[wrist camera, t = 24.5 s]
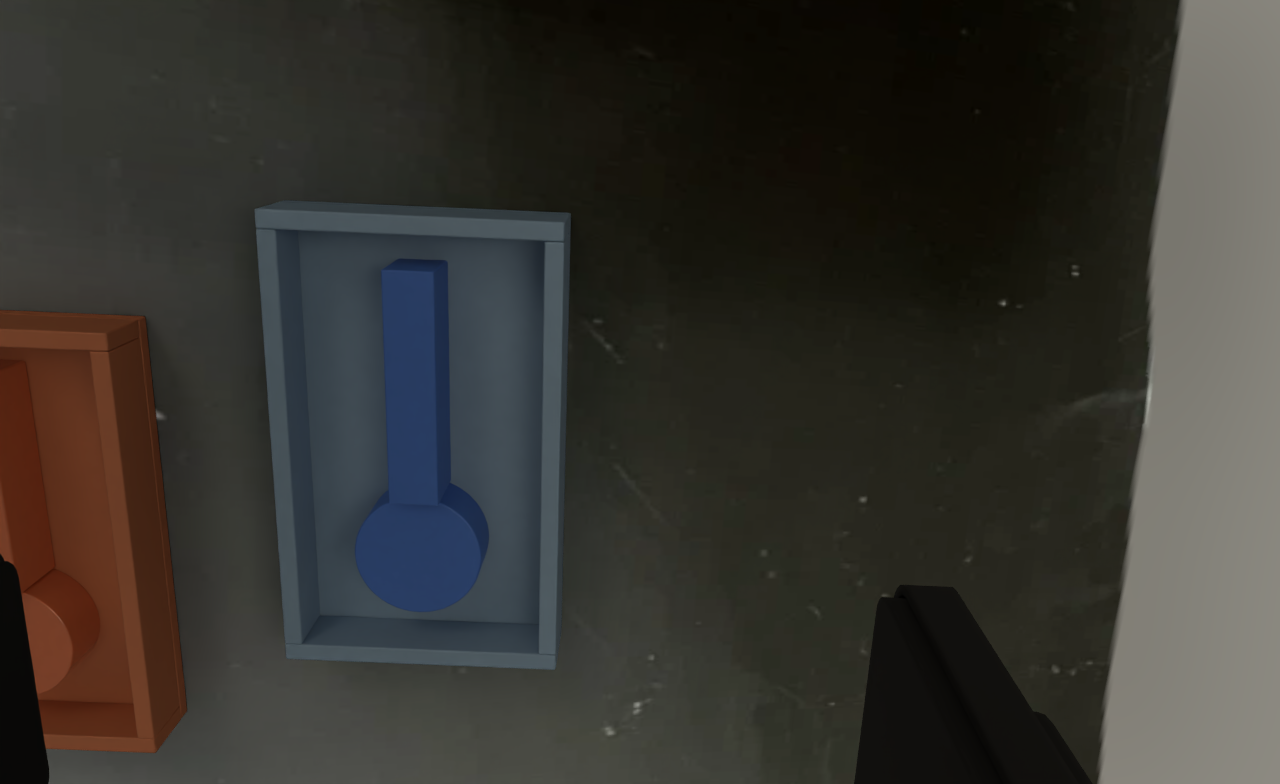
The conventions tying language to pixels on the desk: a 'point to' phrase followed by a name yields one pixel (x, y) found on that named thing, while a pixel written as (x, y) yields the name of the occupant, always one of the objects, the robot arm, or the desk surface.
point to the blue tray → (356, 422)
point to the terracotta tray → (104, 524)
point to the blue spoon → (419, 456)
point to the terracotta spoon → (37, 543)
